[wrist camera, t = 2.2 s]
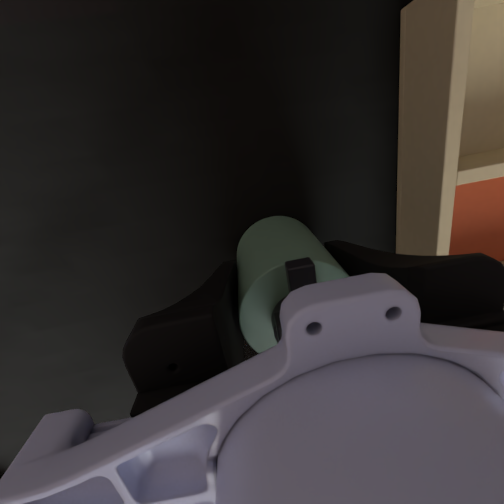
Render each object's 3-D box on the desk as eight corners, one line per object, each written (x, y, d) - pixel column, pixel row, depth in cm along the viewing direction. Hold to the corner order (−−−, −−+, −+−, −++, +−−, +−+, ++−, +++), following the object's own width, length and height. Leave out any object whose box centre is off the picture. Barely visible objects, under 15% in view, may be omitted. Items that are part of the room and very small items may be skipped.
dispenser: (319, 281, 17) (383, 385, 10) (245, 296, 17) (253, 409, 10) (311, 199, 15) (383, 252, 8) (227, 215, 15) (221, 283, 8)
